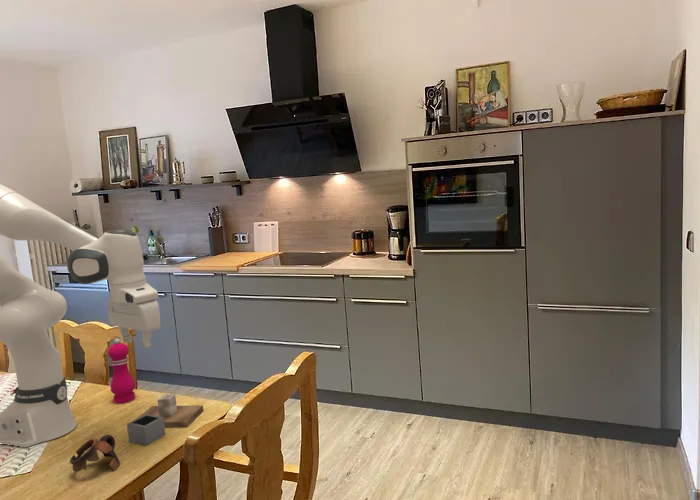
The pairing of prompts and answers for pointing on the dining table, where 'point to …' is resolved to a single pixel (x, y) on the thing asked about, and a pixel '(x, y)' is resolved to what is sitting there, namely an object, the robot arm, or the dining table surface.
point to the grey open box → (146, 429)
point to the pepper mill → (121, 373)
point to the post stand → (174, 412)
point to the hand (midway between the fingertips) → (137, 344)
